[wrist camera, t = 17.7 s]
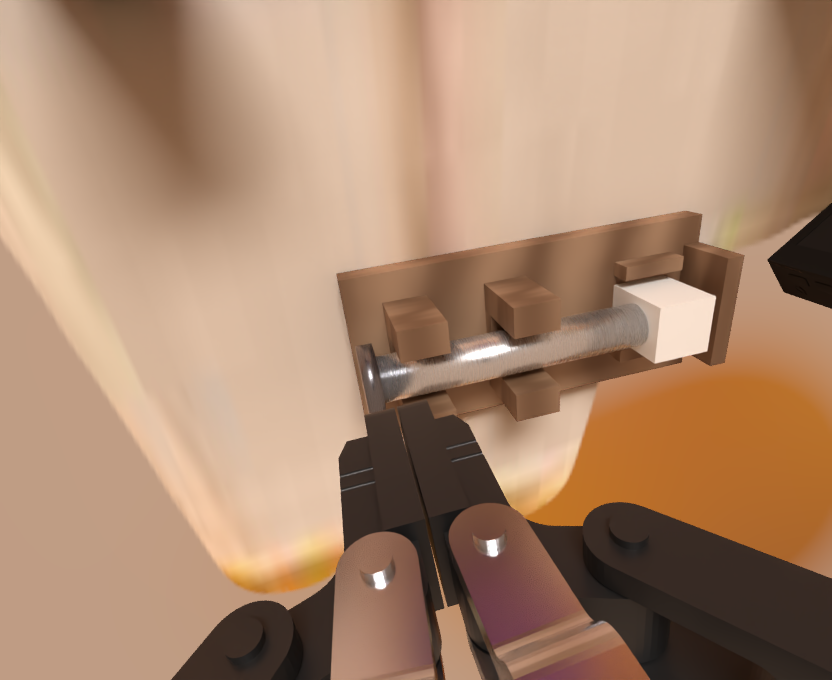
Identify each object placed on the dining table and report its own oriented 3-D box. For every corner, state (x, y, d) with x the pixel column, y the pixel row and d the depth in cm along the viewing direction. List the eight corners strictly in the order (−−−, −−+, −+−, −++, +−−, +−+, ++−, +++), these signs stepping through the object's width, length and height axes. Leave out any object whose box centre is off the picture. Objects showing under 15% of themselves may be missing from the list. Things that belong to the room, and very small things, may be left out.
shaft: (615, 281, 34) (661, 303, 30) (611, 341, 36) (654, 370, 32) (352, 334, 31) (360, 367, 27) (364, 396, 33) (374, 436, 29)
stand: (685, 210, 35) (763, 227, 29) (668, 354, 40) (731, 392, 34) (336, 273, 31) (345, 307, 25) (366, 423, 36) (379, 480, 30)
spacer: (613, 284, 34) (660, 308, 30) (663, 274, 35) (716, 296, 31) (610, 334, 36) (654, 363, 32) (657, 324, 37) (707, 351, 32)
